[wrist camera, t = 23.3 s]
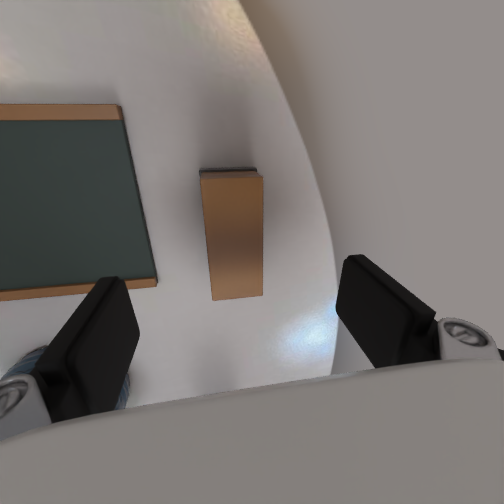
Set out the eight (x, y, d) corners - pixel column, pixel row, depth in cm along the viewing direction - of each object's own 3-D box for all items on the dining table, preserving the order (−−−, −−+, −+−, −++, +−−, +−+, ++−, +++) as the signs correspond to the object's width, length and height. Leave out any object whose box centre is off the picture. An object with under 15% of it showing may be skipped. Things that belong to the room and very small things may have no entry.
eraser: (199, 168, 21) (196, 176, 17) (254, 166, 22) (266, 173, 17) (210, 275, 26) (210, 303, 21) (255, 271, 27) (264, 297, 22)
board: (-238, 104, 16) (-265, 102, 15) (120, 105, 19) (116, 104, 18) (-86, 303, 22) (-99, 310, 22) (158, 281, 25) (156, 287, 24)
